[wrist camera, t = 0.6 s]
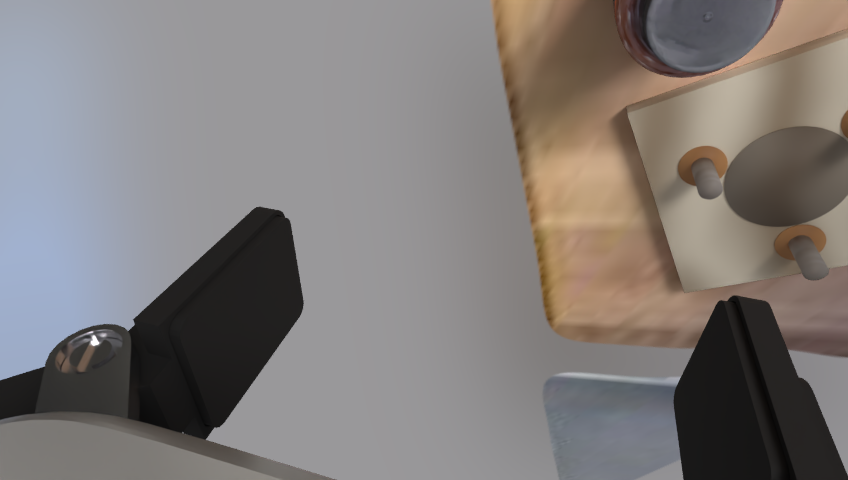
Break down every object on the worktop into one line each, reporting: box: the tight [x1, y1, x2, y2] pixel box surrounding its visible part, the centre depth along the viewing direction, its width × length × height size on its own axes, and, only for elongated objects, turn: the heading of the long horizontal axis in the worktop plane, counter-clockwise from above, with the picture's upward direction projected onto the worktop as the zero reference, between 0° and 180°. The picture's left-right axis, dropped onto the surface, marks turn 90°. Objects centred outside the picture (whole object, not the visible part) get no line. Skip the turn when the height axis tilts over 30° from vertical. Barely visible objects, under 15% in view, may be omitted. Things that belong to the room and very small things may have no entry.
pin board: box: [627, 29, 848, 293], centre depth 28 cm, size 14×14×4 cm
